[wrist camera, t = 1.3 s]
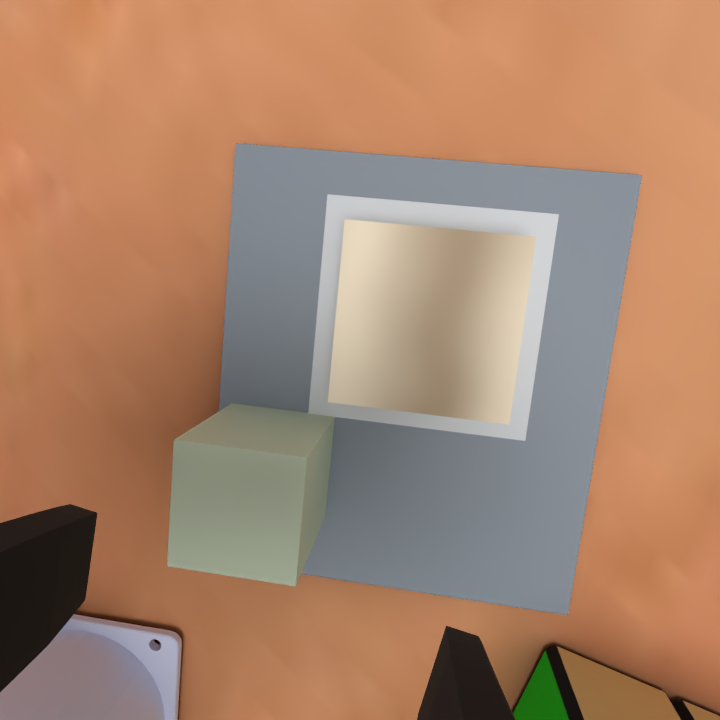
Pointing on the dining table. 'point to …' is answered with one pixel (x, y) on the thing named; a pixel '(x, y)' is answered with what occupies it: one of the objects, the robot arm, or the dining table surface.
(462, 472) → the building mat
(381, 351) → the base block
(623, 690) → the puzzle cube
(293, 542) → the green block
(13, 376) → the dining table surface
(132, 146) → the dining table surface
